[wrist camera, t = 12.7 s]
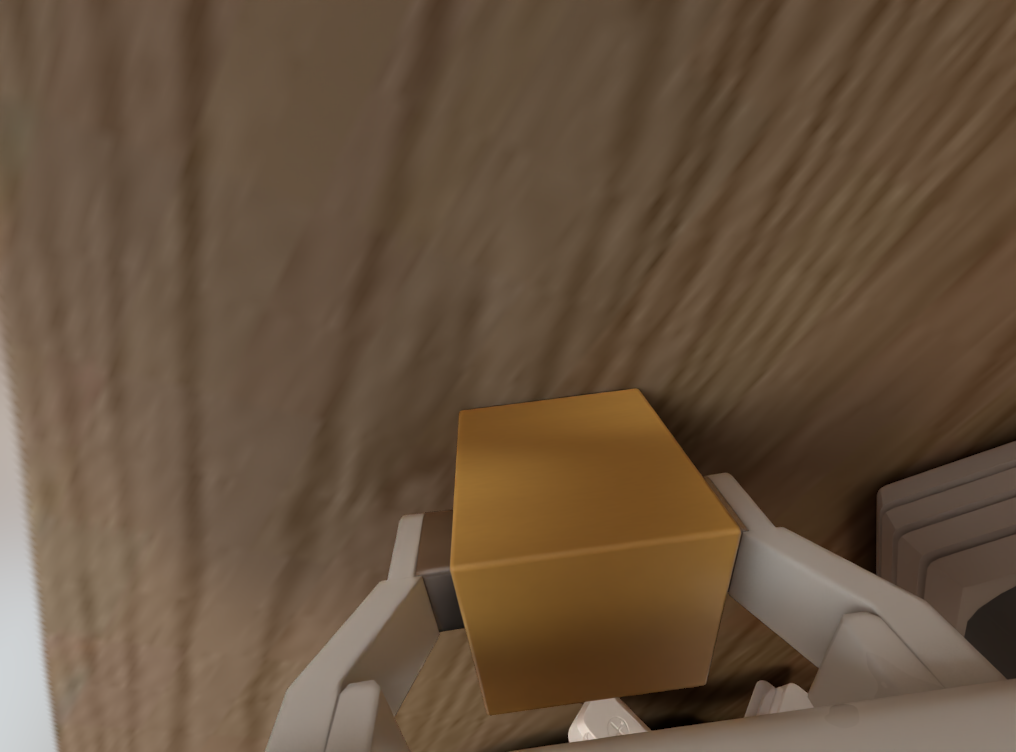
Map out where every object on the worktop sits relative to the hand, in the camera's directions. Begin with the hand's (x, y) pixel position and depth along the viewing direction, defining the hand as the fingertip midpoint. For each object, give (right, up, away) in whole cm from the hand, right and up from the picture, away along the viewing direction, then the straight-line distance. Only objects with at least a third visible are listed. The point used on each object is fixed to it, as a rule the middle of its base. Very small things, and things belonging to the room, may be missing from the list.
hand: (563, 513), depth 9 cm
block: (0, +1, +1) cm, 2 cm away
